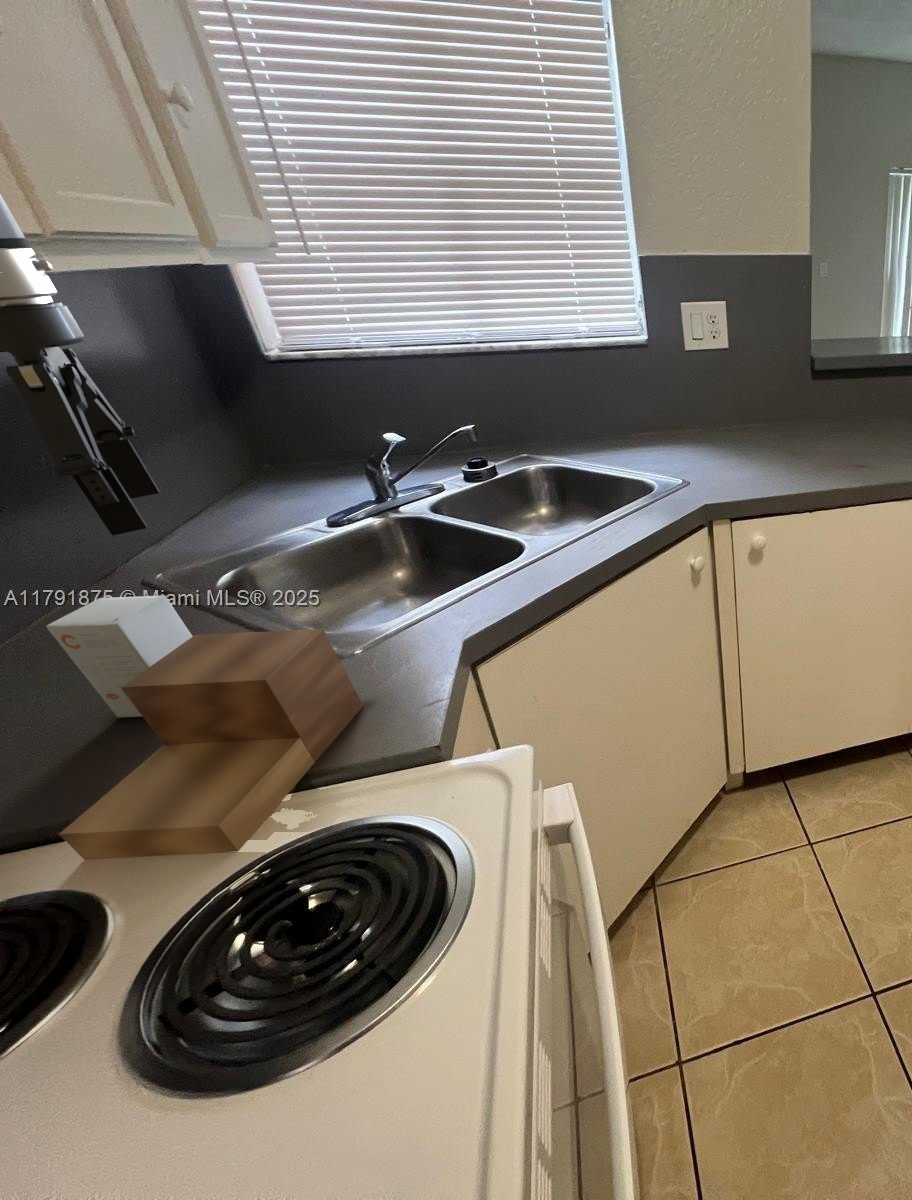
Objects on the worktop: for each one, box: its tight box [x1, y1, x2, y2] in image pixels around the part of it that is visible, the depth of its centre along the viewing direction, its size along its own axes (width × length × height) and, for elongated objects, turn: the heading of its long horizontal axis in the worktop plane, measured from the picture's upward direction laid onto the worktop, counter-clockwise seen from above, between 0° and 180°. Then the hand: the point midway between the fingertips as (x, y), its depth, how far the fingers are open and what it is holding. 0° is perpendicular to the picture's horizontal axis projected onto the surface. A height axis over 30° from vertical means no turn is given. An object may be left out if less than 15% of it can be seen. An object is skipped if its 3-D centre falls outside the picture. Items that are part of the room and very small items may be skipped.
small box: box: [46, 595, 194, 718], centre depth 73 cm, size 8×6×13 cm
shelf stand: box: [58, 628, 364, 860], centre depth 62 cm, size 14×20×11 cm
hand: (138, 512), depth 70 cm, fingers open, 13 cm apart
